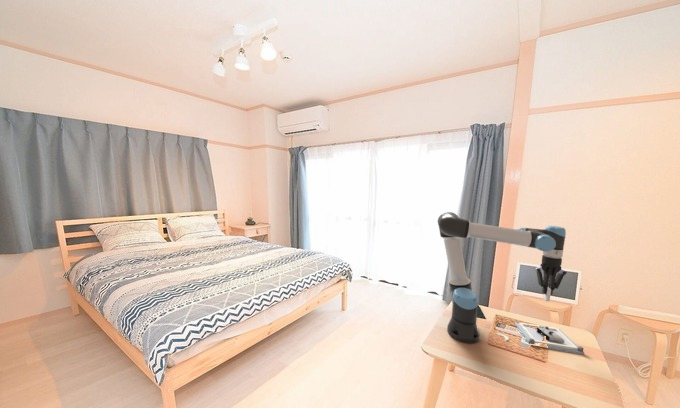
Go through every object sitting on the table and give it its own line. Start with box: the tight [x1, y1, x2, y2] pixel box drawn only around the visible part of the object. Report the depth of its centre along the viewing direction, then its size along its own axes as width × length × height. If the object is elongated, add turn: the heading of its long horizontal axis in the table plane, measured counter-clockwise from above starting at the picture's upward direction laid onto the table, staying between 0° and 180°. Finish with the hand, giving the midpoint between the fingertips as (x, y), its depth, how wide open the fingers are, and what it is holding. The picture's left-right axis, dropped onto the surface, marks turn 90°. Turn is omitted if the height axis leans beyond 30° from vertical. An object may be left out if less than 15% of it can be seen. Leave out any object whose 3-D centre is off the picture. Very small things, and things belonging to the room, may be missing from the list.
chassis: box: [514, 322, 585, 355], centre depth 123 cm, size 22×18×3 cm
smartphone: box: [477, 304, 487, 320], centre depth 148 cm, size 7×1×15 cm
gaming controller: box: [537, 325, 565, 343], centre depth 122 cm, size 11×6×7 cm
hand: (546, 299), depth 122 cm, fingers closed
